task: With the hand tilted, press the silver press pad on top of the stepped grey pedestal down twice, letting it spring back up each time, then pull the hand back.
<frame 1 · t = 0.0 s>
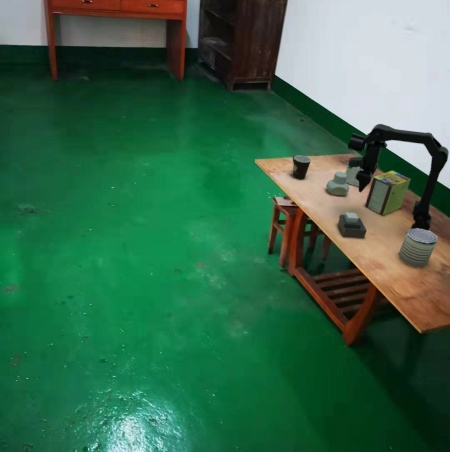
hand: (362, 187, 199), 15 cm above the table, tool pointing down, fingers open, 9 cm apart
stepped grey pedestal: (350, 231, 196), on the table
protein box: (382, 207, 218), on the table
press pad: (351, 217, 193), point 7 cm above the table, slide at 0.1 cm
air freshener: (336, 192, 226), on the table
can: (412, 259, 183), on the table
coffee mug: (298, 175, 238), on the table
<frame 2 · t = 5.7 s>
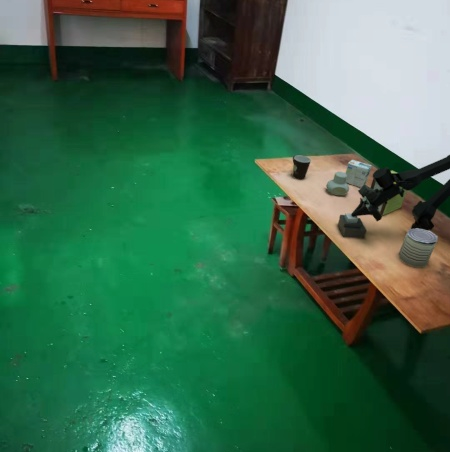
hand: (351, 215, 192), 8 cm above the table, tool tilted 45°, fingers closed, pressing on press pad
press pad: (350, 218, 193), point 6 cm above the table, slide at -0.4 cm, touching gripper
everything else where it was.
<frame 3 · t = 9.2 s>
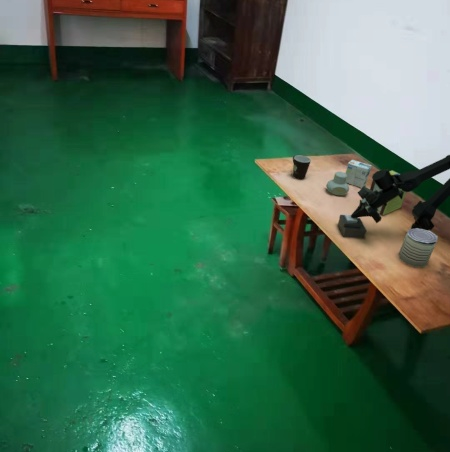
hand: (351, 217, 192), 7 cm above the table, tool tilted 45°, fingers closed, pressing on press pad
press pad: (350, 220, 193), point 5 cm above the table, slide at -1.1 cm, touching gripper
everything else where it was.
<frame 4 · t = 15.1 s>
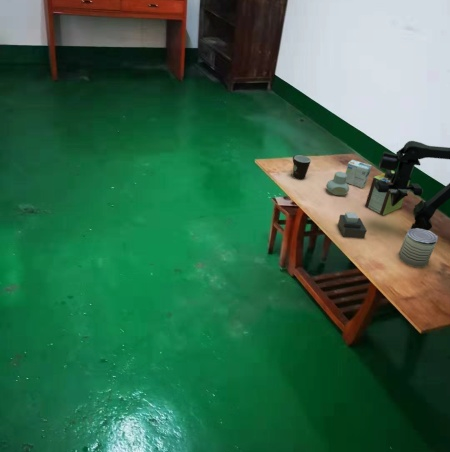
hand: (392, 205, 194), 12 cm above the table, tool pointing down, fingers closed
press pad: (351, 217, 193), point 7 cm above the table, slide at 0.1 cm
everything else where it was.
at the end: press pad pushed in 1.3 cm at the most during the clip, back to where it started at the end; press pad slide at 0.1 cm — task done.
